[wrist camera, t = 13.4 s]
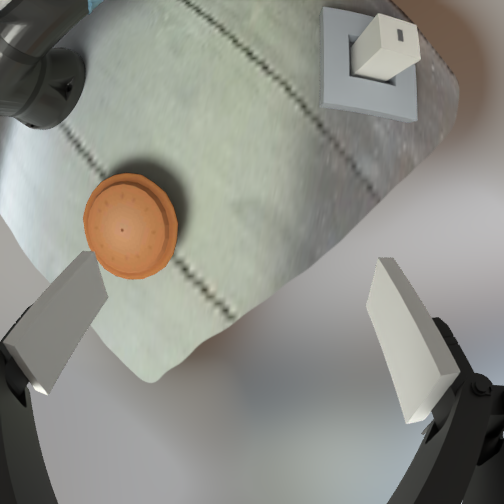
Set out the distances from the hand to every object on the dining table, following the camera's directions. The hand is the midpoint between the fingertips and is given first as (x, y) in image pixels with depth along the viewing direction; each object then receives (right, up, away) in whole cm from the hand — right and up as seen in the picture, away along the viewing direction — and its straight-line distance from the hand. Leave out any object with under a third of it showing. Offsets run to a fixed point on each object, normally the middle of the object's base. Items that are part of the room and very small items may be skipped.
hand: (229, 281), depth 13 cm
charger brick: (+18, +28, +21) cm, 39 cm away
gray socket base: (+18, +29, +21) cm, 40 cm away
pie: (-16, +6, +29) cm, 34 cm away
